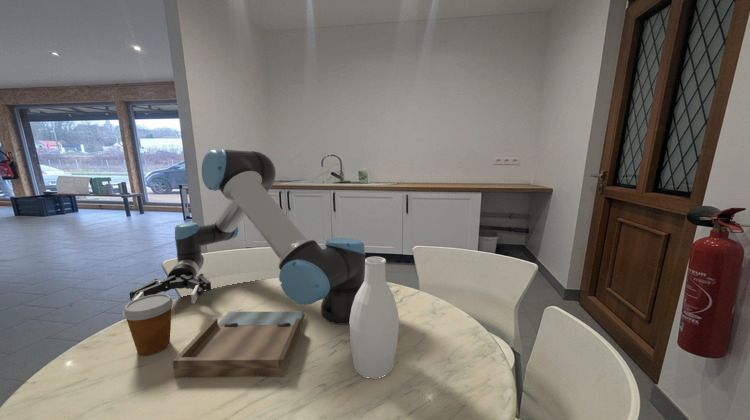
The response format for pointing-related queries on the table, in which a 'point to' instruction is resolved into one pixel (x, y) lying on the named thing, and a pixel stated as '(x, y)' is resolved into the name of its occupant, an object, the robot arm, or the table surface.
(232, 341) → the shallow wooden crate
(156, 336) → the disposable coffee cup
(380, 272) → the bottle
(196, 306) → the table surface
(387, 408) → the table surface
